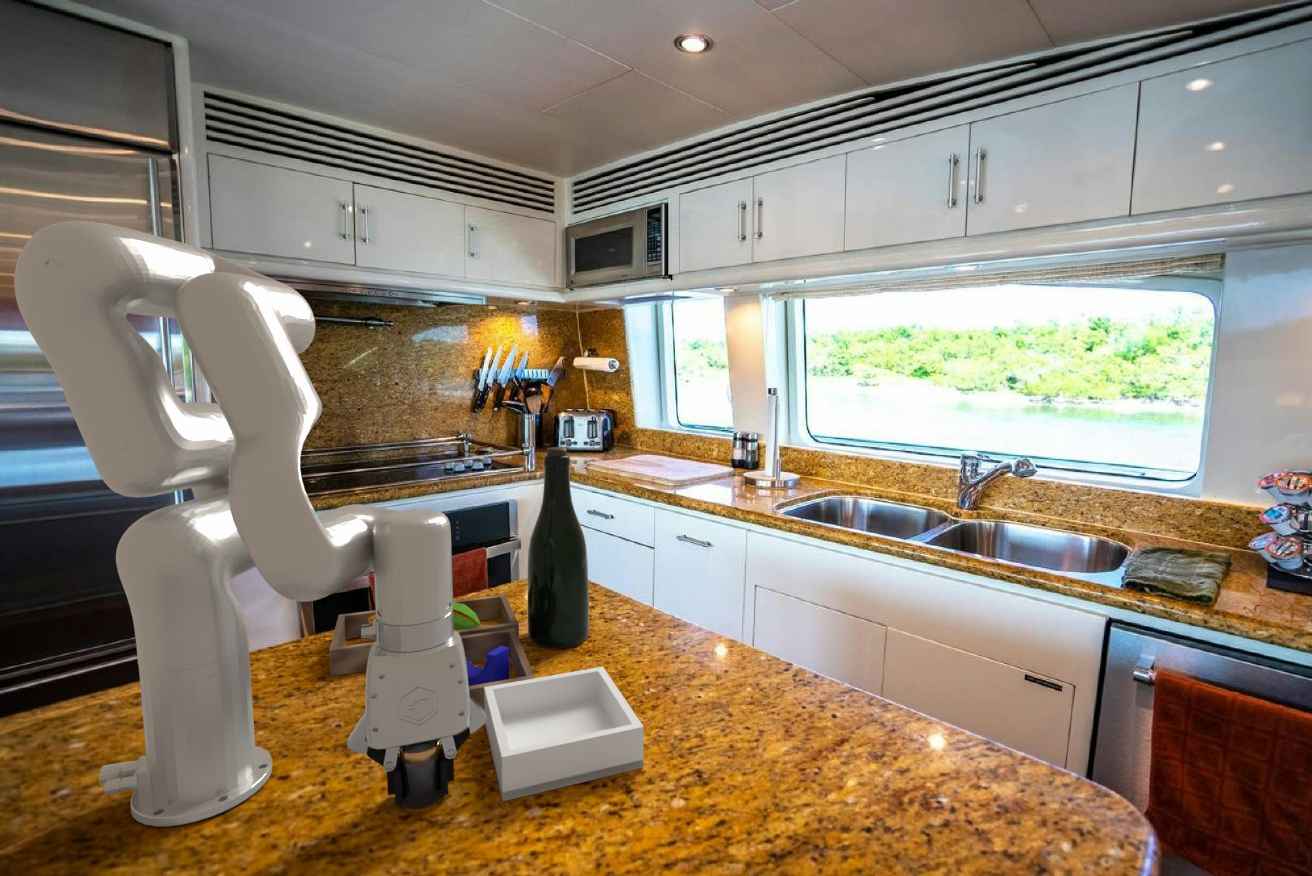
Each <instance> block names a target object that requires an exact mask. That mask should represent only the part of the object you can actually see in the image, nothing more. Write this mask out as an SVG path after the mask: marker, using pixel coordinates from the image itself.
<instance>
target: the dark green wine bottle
mask: <svg viewBox="0 0 1312 876" xmlns="http://www.w3.org/2000/svg"><path fill="white" fill-rule="evenodd" d="M545 452H546V454H545V455H544V456H543V461H542V463H543V493H542V494H543V495H542V500H541V501H542V502H541V505H540V510H539V512H538V516H537V518H536V519H537V520H536V521H535V525H534V527H533V530H532V532H531V535H530V537H529V544H528V551H527V583H526V584H527V595H526V596H527V599H526V600H527V601H526V602H527V604H526V605H527V606H526V607H527V613H526V614H527V615H526V617H527V618H526V619H527V620H526V623H527V637H528V639H529V641H530V642H531V643H532V644H533V645H536V646H538V647H540V648H544V649H551V650H552V649H553V650H554V649H566V648H569V647H573V646H577V645H578V644H581V643H583V642H585V640H586V639H587V638H588V636H589V634H590V604H589V603H590V602H589V568H588V566H589V565H588V564H589V563H588V562H589V561H588V549H587V543H586V538H585V534H584V531H583V529H582V527H581V524H580V521H579V519H578V518H579V517H578V516H577V513H576V511H575V507H574V503H573V500H572V498H573V497H572V494H571V493H572V492H571V480H570V479H571V477H570V475H571V473H570V465H571V459H570V456H569V455H568V453H567V452H568V451H567V448H566V447H560V446H559V447H558V446H555V447H554V446H553V447H548V448H546V451H545Z"/></svg>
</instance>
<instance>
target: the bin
mask: <svg viewBox="0 0 1312 876" xmlns="http://www.w3.org/2000/svg"><path fill="white" fill-rule="evenodd" d="M484 704H485V713H486V717H487V721H486V723H485V724H484V725H485V729H486V735H487V739H488V742H489V743H488V744H489V747H490V751H491V756H492V760H493V765H494V769H495V774H496V777H497V783H498V788H499V790H500V796H501V799H502V802H506V801H510V800H515V799H517V798H518V799H519V798H523V797H527V796H531V795H535V794H536V795H537V794H539V793H545V792H548V791H552V790H556V789H560V788H564V787H568V786H572V785H576V784H580V783H581V784H582V783H585V782H589V781H594V780H598V779H602V778H606V777H609V776H615V775H618V774H622V773H627V772H632V771H635V770H640V769H643V768H644V738H645V737H644V732H645V731H644V729H645V728H644V725H643V724H642V722H641V721H640V720H639V718H638V716H637V715H636V714H635V712H634V711H633V709H632V707H631V706H630V705H629V703H628V702H627V700H626V699H625V697H624V696H623V694H622V693H621V691H620V689H619V688H618V687H617V686H616V684H615V682H614V681H613V679H612V677H610V675H609V673H608V672H607V670H606V669H605V667H604V666H599V667H598V666H597V667H593V668H588V669H581V670H575V671H569V672H564V673H563V672H562V673H559V674H554V675H545V676H542V677H541V676H540V677H537V678H536V677H535V678H534V679H529V680H523V681H517V682H511V683H505V684H500V685H494V686H488V687H484Z"/></svg>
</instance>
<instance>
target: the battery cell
mask: <svg viewBox="0 0 1312 876" xmlns="http://www.w3.org/2000/svg"><path fill="white" fill-rule="evenodd" d="M440 750H441V739H436V740H431V741H426V742H421V743H416V744H411V745H406V746H400V747H399V750H398V752H399V757H400V763H401V771H402V797H403V803H402V805H403V807H404V808H407V809H410V810H420V809H425V808H428V807H430V806H432V805H434V804H435V803H436V802H437V801H439V799H440V798H441V797H442V795H441V780H440Z"/></svg>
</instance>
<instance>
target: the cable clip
mask: <svg viewBox="0 0 1312 876" xmlns="http://www.w3.org/2000/svg"><path fill="white" fill-rule="evenodd" d="M465 657H466V656H465ZM466 664H467V673H468V685H469V686H472V685H478V684H484V683H490V682H496V681H502V680H508V679H511V674H510V673H511V671H510V656H509V648H508V647H504V646H500V647H498V648H496V649H494V650H492V651H490V652H488V653H486V659H485V663H484V665H483V668H481V667H479V666H477V665H475V664H473V663H472V662H470V661H469V660H468V659H467V657H466Z"/></svg>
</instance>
